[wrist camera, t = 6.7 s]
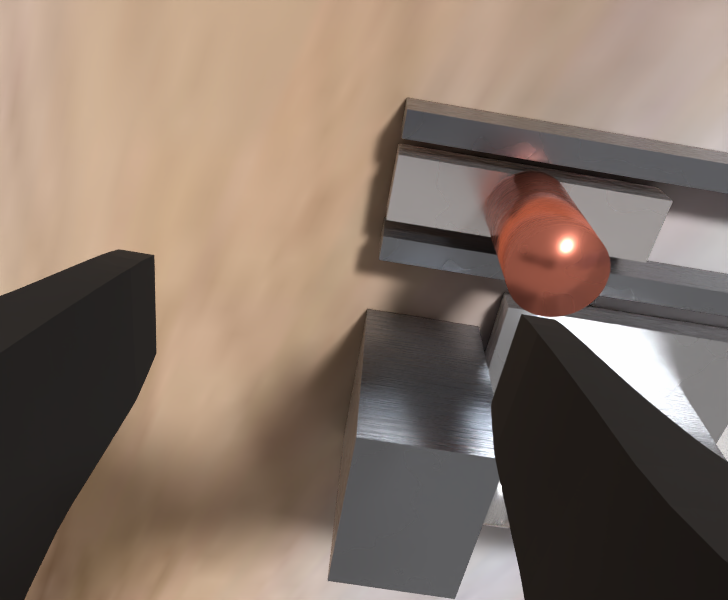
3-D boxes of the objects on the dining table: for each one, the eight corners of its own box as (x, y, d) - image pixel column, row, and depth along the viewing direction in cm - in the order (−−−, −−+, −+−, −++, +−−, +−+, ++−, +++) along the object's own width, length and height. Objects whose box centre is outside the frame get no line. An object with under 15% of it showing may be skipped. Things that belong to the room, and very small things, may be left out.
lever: (660, 180, 18) (745, 255, 14) (630, 251, 20) (699, 341, 15) (399, 136, 18) (400, 198, 14) (385, 211, 19) (382, 290, 15)
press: (955, 192, 18) (1203, 299, 13) (730, 520, 26) (824, 680, 20) (406, 97, 18) (410, 165, 12) (338, 461, 25) (321, 609, 19)
